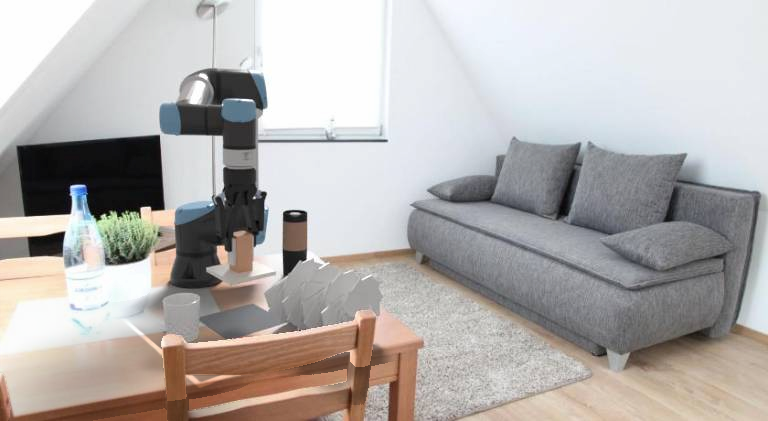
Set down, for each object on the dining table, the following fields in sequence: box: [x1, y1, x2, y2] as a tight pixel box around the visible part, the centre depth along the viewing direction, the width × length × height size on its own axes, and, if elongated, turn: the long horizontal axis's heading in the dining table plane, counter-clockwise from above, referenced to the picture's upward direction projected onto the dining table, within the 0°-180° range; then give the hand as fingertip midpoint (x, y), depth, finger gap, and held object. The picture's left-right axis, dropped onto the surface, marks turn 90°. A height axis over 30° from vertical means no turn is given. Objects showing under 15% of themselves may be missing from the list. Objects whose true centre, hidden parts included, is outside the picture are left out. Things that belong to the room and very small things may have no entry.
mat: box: [199, 302, 285, 340], centre depth 138 cm, size 16×16×1 cm
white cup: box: [162, 292, 201, 343], centre depth 127 cm, size 8×8×10 cm
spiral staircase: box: [263, 257, 384, 332], centre depth 132 cm, size 18×18×25 cm
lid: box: [206, 231, 277, 286], centre depth 135 cm, size 12×12×10 cm
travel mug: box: [281, 209, 308, 277], centre depth 174 cm, size 8×8×20 cm
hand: (240, 261), depth 135 cm, fingers closed on lid, 4 cm apart
